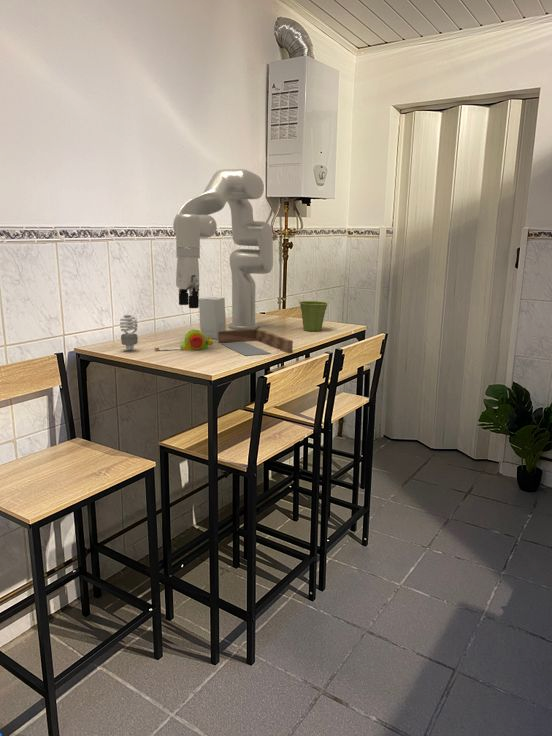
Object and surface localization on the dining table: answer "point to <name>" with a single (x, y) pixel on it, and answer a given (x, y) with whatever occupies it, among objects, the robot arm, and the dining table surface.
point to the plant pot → (313, 314)
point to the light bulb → (129, 338)
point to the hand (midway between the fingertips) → (188, 306)
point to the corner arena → (256, 338)
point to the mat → (245, 348)
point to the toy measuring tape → (193, 341)
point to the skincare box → (212, 316)
